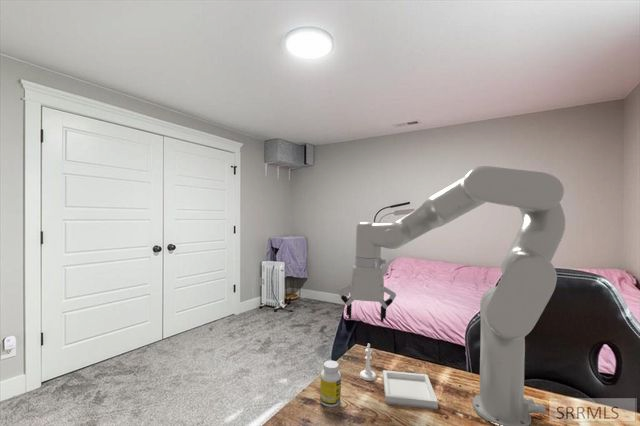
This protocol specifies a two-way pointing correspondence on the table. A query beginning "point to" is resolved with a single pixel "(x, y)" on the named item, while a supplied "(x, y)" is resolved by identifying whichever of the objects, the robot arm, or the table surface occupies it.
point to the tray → (409, 390)
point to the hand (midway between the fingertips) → (365, 318)
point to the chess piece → (368, 367)
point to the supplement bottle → (330, 384)
